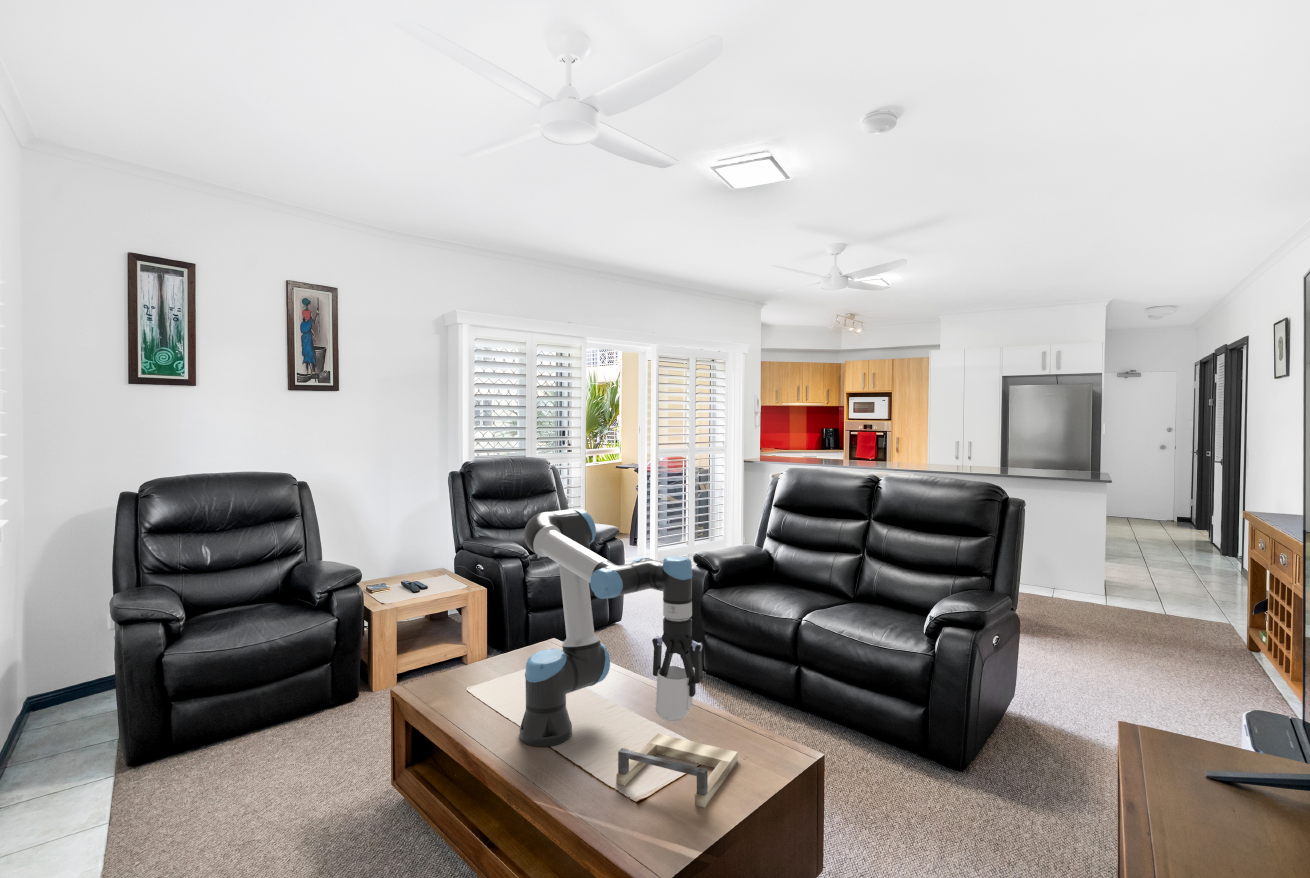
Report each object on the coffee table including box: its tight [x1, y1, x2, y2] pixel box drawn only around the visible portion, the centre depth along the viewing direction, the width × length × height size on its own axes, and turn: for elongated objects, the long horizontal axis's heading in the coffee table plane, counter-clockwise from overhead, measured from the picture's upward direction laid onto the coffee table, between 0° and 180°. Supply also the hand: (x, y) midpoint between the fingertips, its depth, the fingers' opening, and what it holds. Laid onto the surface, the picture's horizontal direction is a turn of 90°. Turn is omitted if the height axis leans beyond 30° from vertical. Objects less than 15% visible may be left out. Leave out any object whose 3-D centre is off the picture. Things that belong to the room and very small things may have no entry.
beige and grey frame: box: [615, 733, 739, 809], centre depth 169 cm, size 24×24×8 cm
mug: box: [654, 665, 695, 722], centre depth 169 cm, size 12×9×11 cm
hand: (677, 705), depth 168 cm, fingers closed on mug, 6 cm apart
